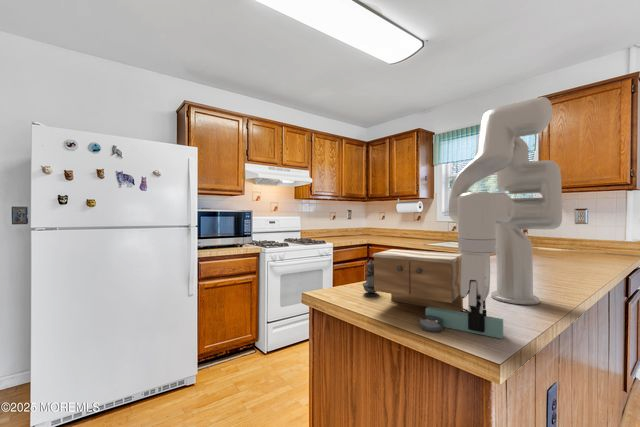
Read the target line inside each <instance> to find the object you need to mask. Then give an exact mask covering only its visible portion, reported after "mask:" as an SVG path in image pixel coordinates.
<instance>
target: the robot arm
mask: <svg viewBox="0 0 640 427" xmlns="http://www.w3.org/2000/svg"><path fill="white" fill-rule="evenodd" d="M551 102H552V101H550V100H549V99H548V98H547V97H545V96H541V97H540V96H539V97H535V98H532V99H526V100H522V101H519V102H518V101H517V102H514V103H510V104H506V105H501V106H498V107H494V108H492V109H489V110H487V111H486V112H484V113H483V115H482V117H481V122H480V126H479V130H478V131H479V132H478V137H477V142H476V143H477V144H476V150H475V156H474V158H473V159H472V160H470V162H469V163H467V164H466V165H465V166H464V167H462V168H463V169H461V170H460V172H459V173H458V174H457V175H456V177H455V178H454V180H453V182H452V185H451V190H450V194H449V197H448V198H449V199H448V206H447V207H448V215H449V217H450V219H451V220H452V222H455V223H457V243H458V244H457V245H458V246H457V247H458V248H457V249H458V250H457V253H462V260H461V280H460V296H461V298H463V299H465V298H466V297H468V305H467V306H468V309H467V310H468V329H469V330H473V331H478V332H484V331H485V316H487V309H486V307H487V306H486V305H487V304H486V303H487V302H486V300H487V298H488V296H489V294H491V297H492V298H493V300H497V301H500V302H503V303H509V304H514V305H523V306H525V305H528V306H529V305H537V304H540V303H541V302H540V297H538V296H537V295H534V270H533V269H534V266H533V265H534V264H533V262H534V261H533V259H534V258H533V255H534V253H533V242H532V241H531V239H530V238H529V237H528V235H526V234H525V233H524V232H523V230H556V229H557V228H560V226H561V225H562V221H563V195H562V194H563V190H562V175H561V174H562V173H561V168H560V166H559V164H558V163H557V162H555V161H554V160H550V159H548V160H545V159H544V160H537V161H535V160H534V161H530V159H529V158H530V157H529V146H528V143H527V142H526V141H525V140H524V139H523V138H521V137H528V136H533V135H537V134H538V135H539V134H540V133H542V132H544V131H545V129H547V127H548V126H549V125H550V123H551V121H552V118H553V105H552V103H551ZM494 174H496V184H497V188H498V191H499V192H488V191H471V192H470V191H469V190H470V189H471V188H472V187H473V186H474V185H475V184H476V183H479V181H481V180H483V179H485V178H488V177H490V176H493V175H494ZM468 191H469V192H468ZM525 194H540V195H541V196H542V197H519V198H518V197H514V198H512V197H511V196H510V195H525ZM494 255H496V266H495V268H496V290H494V291H492V292H491V293H490V287H491V256H494Z"/></svg>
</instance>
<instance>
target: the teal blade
mask: <svg viewBox="0 0 640 427" xmlns="http://www.w3.org/2000/svg"><path fill="white" fill-rule="evenodd" d="M424 315H432V316H437V317H440V318H442V319H443V328H448V329H452V330H458V331H463V332H465V333H466V332H467V333H471V334H478V335H482V336H487V337H492V338H496V339H503V338H504V318H499V317H494V316H488V315H486V316H485V331H484V332H478V331H473V330H469V329H468V313H465V312H459V311H453V310H447V309H441V308H435V307H429V306H428V307H426V308H425V313H424Z"/></svg>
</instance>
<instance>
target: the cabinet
mask: <svg viewBox="0 0 640 427" xmlns="http://www.w3.org/2000/svg"><path fill="white" fill-rule="evenodd" d="M372 258H373V262H374V291H377V293H378V292H379V293H385V294H390V295H391V296H390V302H391V301H392V302H396V303H403V304H409V305H413V306H420V307H424V308H425V307H426V308H427V307H428V306H429V307H435V308H441V309H447V310H453V311H459V312H461V310H463V308H464V298H461V296H460V280H461V260H462V253H458V252H443V251H431V250H430V251H428V250H413V249H411V250H410V249H397V248H396V249H395V248H391V249H387V250H384V251H379V252H374V253H372ZM463 311H464V310H463Z"/></svg>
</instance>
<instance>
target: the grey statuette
mask: <svg viewBox="0 0 640 427" xmlns="http://www.w3.org/2000/svg"><path fill="white" fill-rule="evenodd" d="M365 274H366V281H365V282H363V283H362V286H363V290H364V291H365V292H364V293H363V294H362V295H363V296H364V297H365V298H378V297H380V294H379V293H378V291H374V261H373V260H372V259H370V260H369V262H367V263H366V272H365Z"/></svg>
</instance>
